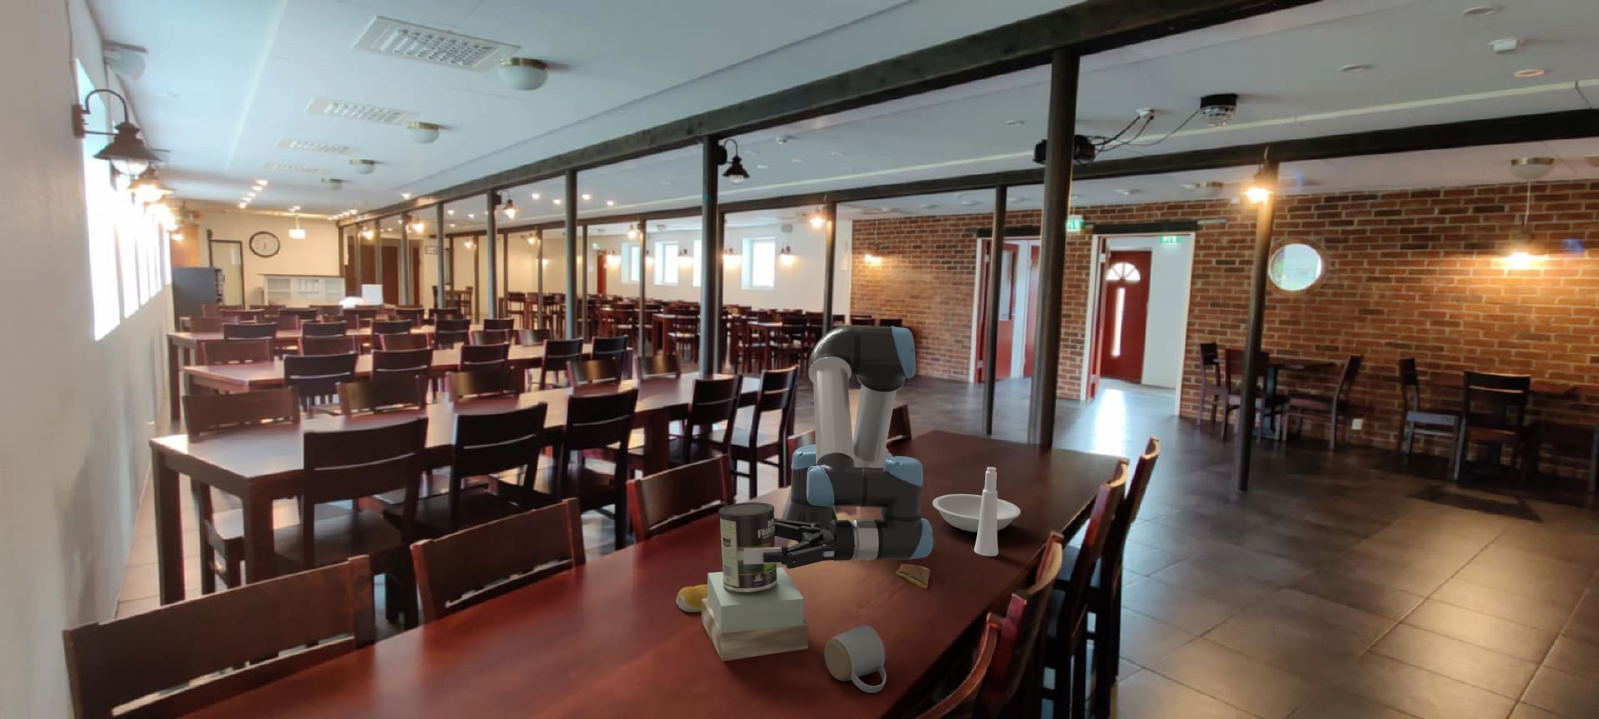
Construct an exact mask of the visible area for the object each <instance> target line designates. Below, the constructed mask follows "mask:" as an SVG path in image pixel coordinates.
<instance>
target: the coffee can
mask: <svg viewBox="0 0 1599 719" xmlns="http://www.w3.org/2000/svg"><path fill="white" fill-rule="evenodd" d="M718 514H719V522H720V523H719V526H720V540H721V541H720V543H721V558H722V559H721V560H722V562H721V564H722V572H723V586H724V588H726V589H728V590H731V591H735V592H756V591H762V590H765V589H768V588H771V587H773V586H774V585H776V583H777V581H778V580H777V568H778V567H777V563H774V564H744V563H743V559H744V548H763V547H777V546H776V536H775V524H774V518H775V506H774V505H773V504H770V503H767V502H757V501H756V502H755V501H753V502H752V501H751V502H739V503H733V504H729V505H725V506H723V507H721V508H720V509H718Z"/></svg>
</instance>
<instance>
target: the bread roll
mask: <svg viewBox="0 0 1599 719" xmlns="http://www.w3.org/2000/svg"><path fill="white" fill-rule="evenodd" d="M707 590H708V583H707V584H699V585H695V586H684V587H683V588H681V589H680V590H679V591H678V593H677V596H676V601H675V602H676V605H677V606H678V608H679V609H680V610H682V611H684V612H687V613H702V599H705V598H707Z"/></svg>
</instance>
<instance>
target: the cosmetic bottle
mask: <svg viewBox="0 0 1599 719" xmlns="http://www.w3.org/2000/svg"><path fill="white" fill-rule="evenodd" d="M997 476H998V473H997V468H996V467H993V466H989V467H988V466H987V467H986V471H985V478H984V479H985V480H984V488H983V490H982V492H981V494H982V495H981V496H982V501H981V510H980V519H979V527H978V532H977V535H976V540H975V545H974V549H973V551H974V553H976V554H977V555H979V556H983V557H996V556H998V554H999V547H998V531H997V499H998V491H997V479H998V478H997Z"/></svg>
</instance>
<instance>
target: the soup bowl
mask: <svg viewBox="0 0 1599 719" xmlns="http://www.w3.org/2000/svg"><path fill="white" fill-rule="evenodd" d="M981 501H982V495H979V494H967V493H953V494H944V495H942V496H938V497H936V498H934V499H933V501H932V506H933V507H934V508H935V509H936V510H937V511H939V514H940V515H941V517H942V518H943V520H945V521H946V522H947V523H948V524H949V525H951V526H952V527H954V528H957V529H959V530H962V531H966V532H971V533H978V527H979V519H980V510H981ZM1020 515H1021V509H1020V508H1019V507H1018V506H1017V505H1016V504H1014V503H1012V502H1010V501H1007V500H1004V499H1000V498H997V532H998V531H1000V530H1002V529H1004V528H1006V527H1007V526H1009V525H1010V523H1011V522H1012V521H1013V520H1014V519H1017V518H1018V517H1019V516H1020Z"/></svg>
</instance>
